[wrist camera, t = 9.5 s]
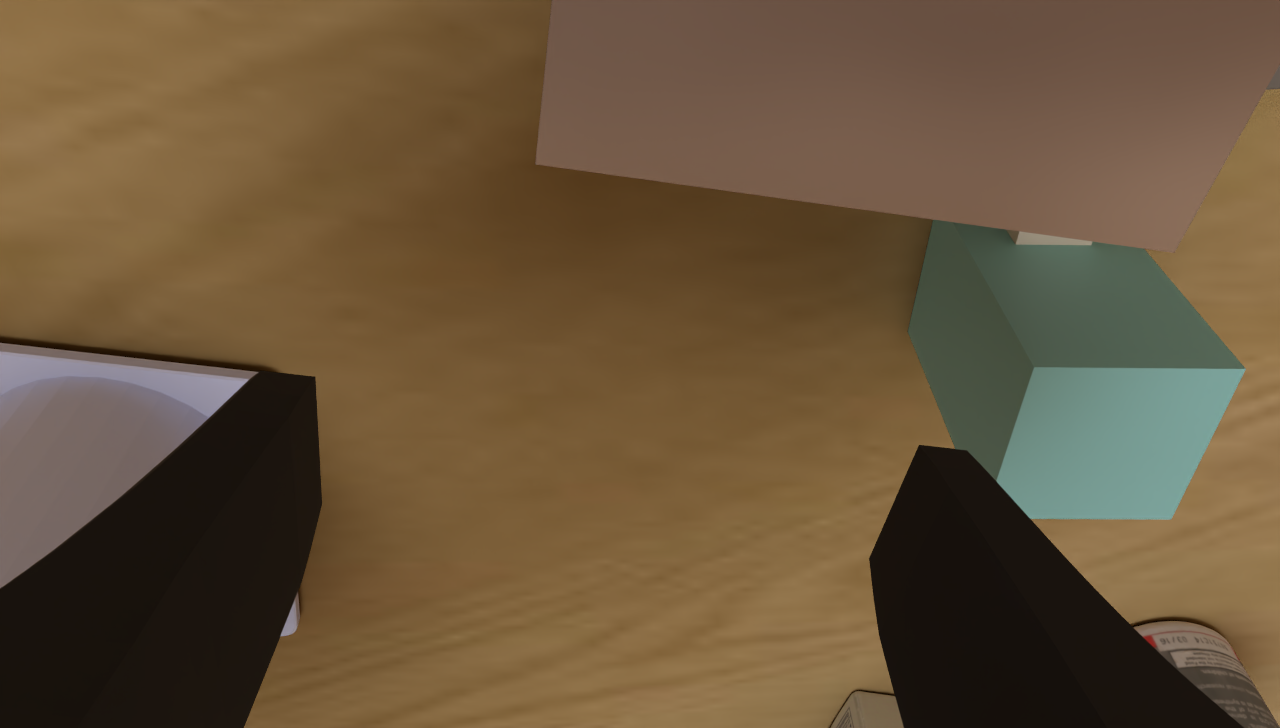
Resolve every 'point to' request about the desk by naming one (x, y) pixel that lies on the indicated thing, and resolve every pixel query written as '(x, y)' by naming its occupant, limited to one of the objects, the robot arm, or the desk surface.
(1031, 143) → the cabinet
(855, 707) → the box
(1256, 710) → the pill bottle
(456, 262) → the desk surface
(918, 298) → the teal toy mallet
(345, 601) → the desk surface
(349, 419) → the desk surface
